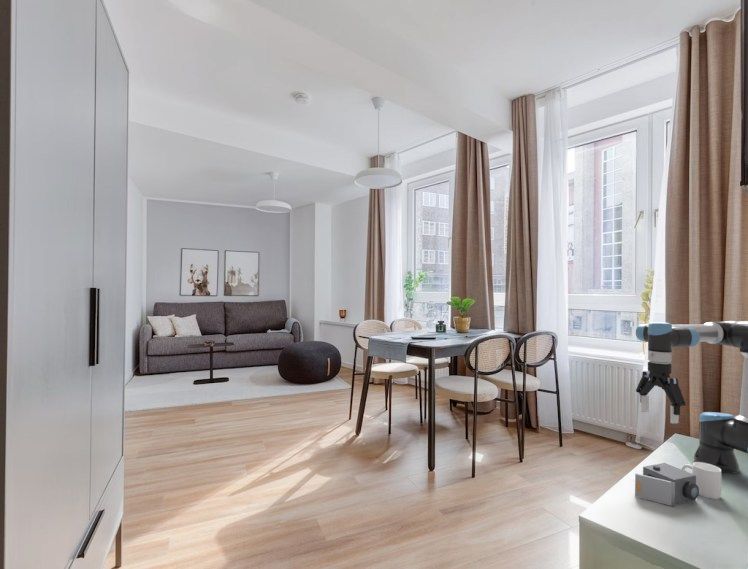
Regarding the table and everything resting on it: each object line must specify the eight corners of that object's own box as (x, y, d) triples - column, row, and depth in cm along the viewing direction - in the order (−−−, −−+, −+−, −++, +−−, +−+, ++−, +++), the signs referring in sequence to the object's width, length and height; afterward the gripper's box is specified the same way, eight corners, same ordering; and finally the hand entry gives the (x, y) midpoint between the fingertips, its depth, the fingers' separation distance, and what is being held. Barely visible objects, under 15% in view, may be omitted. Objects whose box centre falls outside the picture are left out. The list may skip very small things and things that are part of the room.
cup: (717, 501, 144) (717, 473, 144) (677, 488, 153) (677, 461, 154) (723, 495, 149) (724, 468, 149) (684, 482, 158) (684, 456, 158)
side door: (635, 494, 146) (635, 473, 146) (674, 505, 140) (674, 482, 140) (634, 496, 145) (635, 474, 145) (674, 507, 138) (675, 484, 138)
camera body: (664, 486, 155) (664, 460, 155) (702, 503, 142) (703, 475, 142) (642, 490, 150) (642, 464, 150) (680, 508, 138) (680, 480, 138)
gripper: (626, 356, 166) (625, 407, 166) (679, 368, 141) (679, 428, 141) (642, 356, 167) (642, 407, 167) (698, 368, 142) (697, 428, 142)
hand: (659, 417), depth 154 cm, fingers open, 13 cm apart
